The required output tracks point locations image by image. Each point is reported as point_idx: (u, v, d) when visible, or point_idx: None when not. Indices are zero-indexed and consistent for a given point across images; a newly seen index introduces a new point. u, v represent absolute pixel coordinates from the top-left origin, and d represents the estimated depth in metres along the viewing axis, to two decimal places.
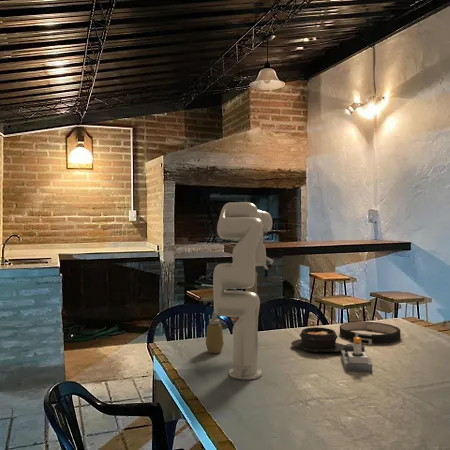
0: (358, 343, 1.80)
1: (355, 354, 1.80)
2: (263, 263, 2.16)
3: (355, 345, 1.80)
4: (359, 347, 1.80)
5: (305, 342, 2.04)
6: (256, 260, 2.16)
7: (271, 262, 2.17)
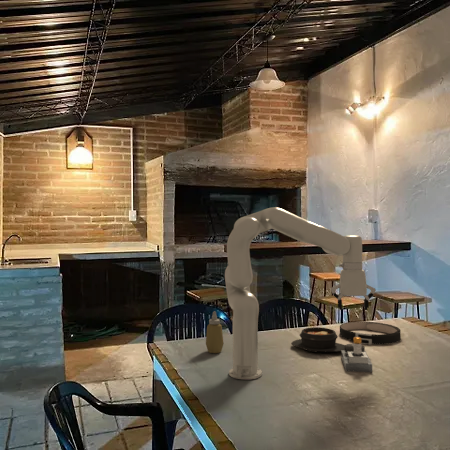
0: (358, 343, 1.80)
1: (355, 354, 1.80)
2: (364, 292, 1.79)
3: (355, 345, 1.80)
4: (359, 347, 1.80)
5: (305, 342, 2.04)
6: (355, 289, 1.80)
7: (373, 291, 1.81)
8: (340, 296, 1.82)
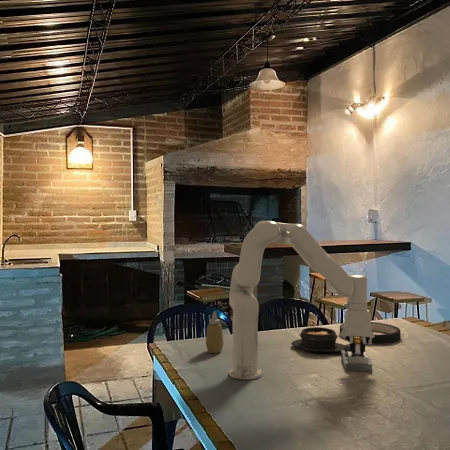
0: (358, 343, 1.80)
1: (355, 354, 1.80)
2: (369, 333, 1.78)
3: (355, 345, 1.80)
4: (359, 347, 1.80)
5: (305, 342, 2.04)
6: (360, 330, 1.78)
7: (371, 336, 1.80)
8: (352, 340, 1.80)
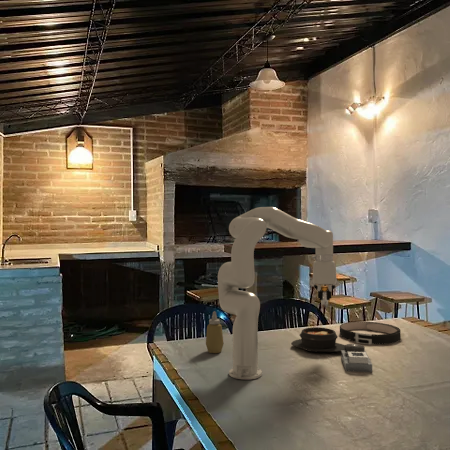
0: (325, 291, 2.02)
1: (322, 301, 2.02)
2: (334, 282, 2.00)
3: (322, 292, 2.02)
4: (326, 294, 2.02)
5: (305, 342, 2.04)
6: (326, 278, 2.00)
7: (336, 285, 2.02)
8: None
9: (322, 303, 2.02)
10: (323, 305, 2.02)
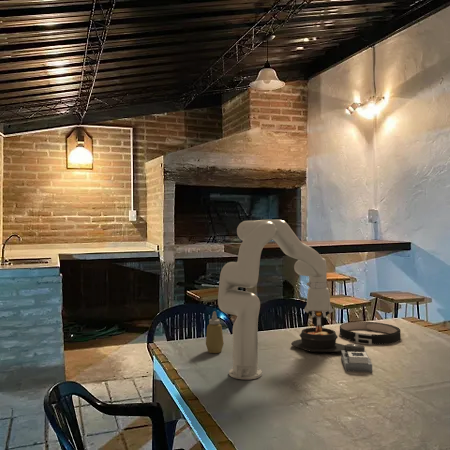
0: (319, 315, 2.07)
1: (316, 325, 2.07)
2: (328, 308, 2.05)
3: (316, 317, 2.07)
4: (320, 319, 2.07)
5: (305, 342, 2.04)
6: (320, 305, 2.05)
7: (330, 311, 2.07)
8: (314, 314, 2.07)
9: (316, 327, 2.08)
10: (317, 329, 2.07)
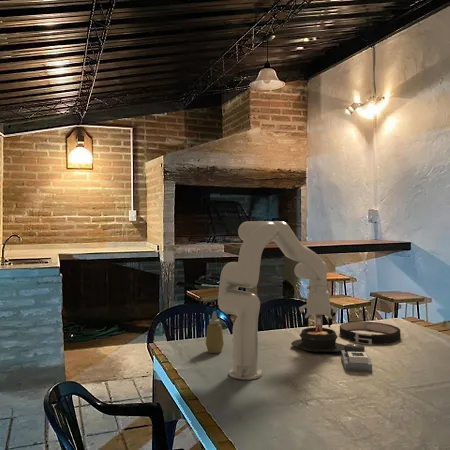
0: (319, 315, 2.07)
1: (317, 325, 2.07)
2: (327, 312, 2.05)
3: (317, 317, 2.07)
4: (320, 319, 2.07)
5: (305, 342, 2.04)
6: (320, 309, 2.05)
7: (335, 310, 2.06)
8: (307, 314, 2.08)
9: (316, 327, 2.07)
10: (317, 329, 2.07)
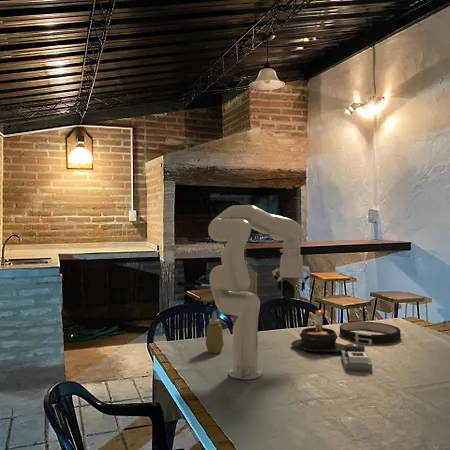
0: (319, 315, 2.07)
1: (317, 325, 2.07)
2: (300, 275, 2.00)
3: (317, 317, 2.07)
4: (320, 319, 2.07)
5: (305, 342, 2.04)
6: (293, 271, 2.00)
7: (309, 274, 2.01)
8: (279, 278, 2.03)
9: (316, 327, 2.07)
10: (317, 329, 2.07)
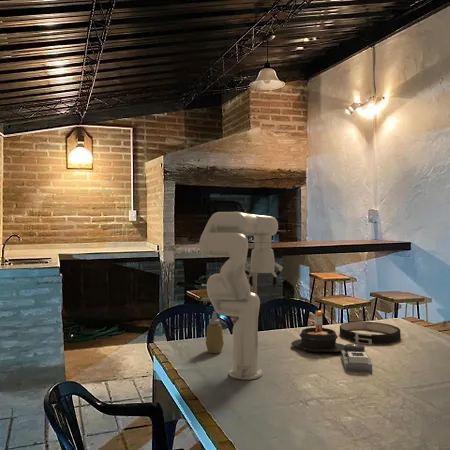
0: (319, 315, 2.07)
1: (317, 325, 2.07)
2: (271, 270, 1.95)
3: (317, 317, 2.07)
4: (320, 319, 2.07)
5: (305, 342, 2.04)
6: (264, 266, 1.96)
7: (280, 269, 1.97)
8: (251, 273, 1.98)
9: (316, 327, 2.07)
10: (317, 329, 2.07)
